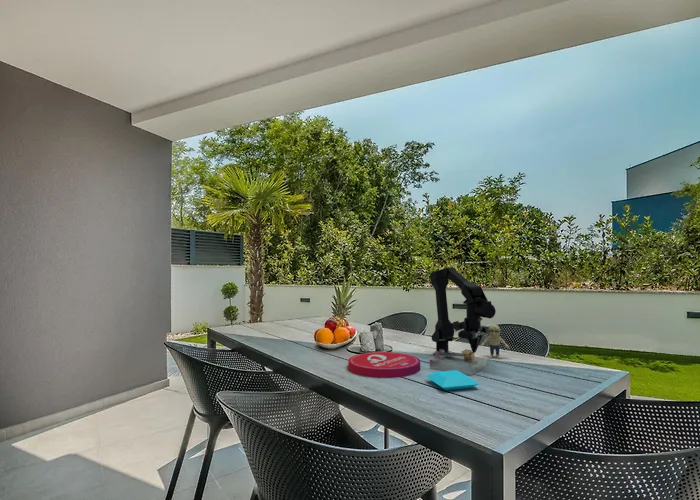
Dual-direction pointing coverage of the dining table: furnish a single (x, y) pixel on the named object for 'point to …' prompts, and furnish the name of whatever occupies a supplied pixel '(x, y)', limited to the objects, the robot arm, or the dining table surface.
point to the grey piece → (457, 363)
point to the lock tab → (471, 354)
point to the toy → (494, 340)
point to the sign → (384, 364)
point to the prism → (452, 380)
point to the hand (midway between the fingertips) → (474, 352)
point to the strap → (453, 354)
